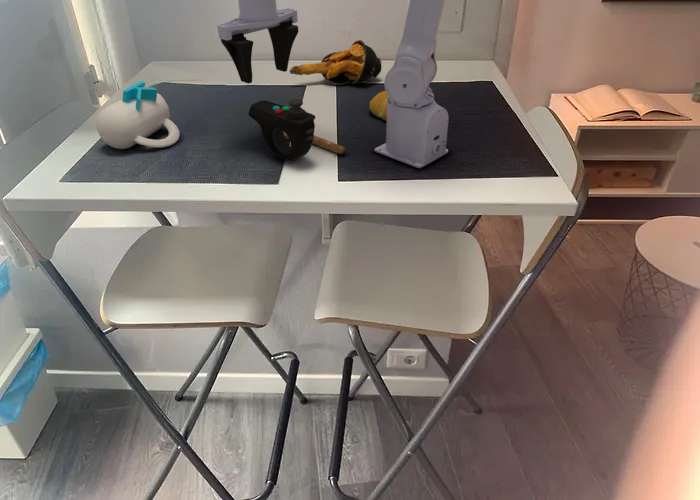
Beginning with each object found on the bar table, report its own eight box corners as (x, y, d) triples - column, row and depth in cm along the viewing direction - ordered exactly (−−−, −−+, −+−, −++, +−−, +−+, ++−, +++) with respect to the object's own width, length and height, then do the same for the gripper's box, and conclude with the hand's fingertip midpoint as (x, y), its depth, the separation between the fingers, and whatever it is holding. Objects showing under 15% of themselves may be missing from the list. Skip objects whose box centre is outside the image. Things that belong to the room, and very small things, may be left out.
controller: (303, 172, 88) (299, 110, 82) (249, 150, 94) (242, 91, 89) (321, 162, 91) (319, 101, 85) (268, 142, 97) (262, 84, 91)
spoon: (356, 149, 94) (356, 141, 94) (331, 161, 91) (331, 153, 90) (286, 122, 104) (286, 115, 103) (261, 132, 100) (260, 125, 100)
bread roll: (395, 127, 102) (396, 105, 99) (362, 113, 107) (362, 92, 105) (427, 115, 106) (429, 94, 104) (394, 102, 112) (394, 82, 109)
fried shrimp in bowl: (393, 64, 116) (314, 45, 108) (369, 105, 124) (294, 90, 115) (381, 36, 121) (304, 16, 112) (358, 77, 129) (285, 61, 120)
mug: (89, 94, 88) (138, 71, 97) (86, 141, 94) (132, 115, 103) (154, 131, 88) (197, 105, 97) (146, 176, 93) (187, 147, 103)
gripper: (274, -24, 92) (281, 60, 100) (200, -10, 84) (213, 81, 92) (304, -19, 89) (309, 69, 96) (229, -3, 80) (241, 91, 88)
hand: (264, 75), depth 94 cm, fingers open, 7 cm apart
